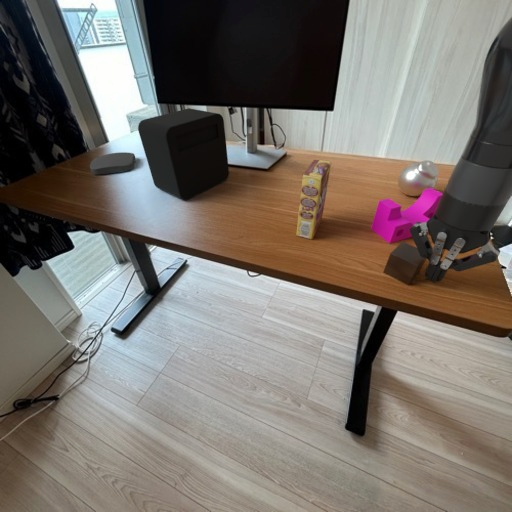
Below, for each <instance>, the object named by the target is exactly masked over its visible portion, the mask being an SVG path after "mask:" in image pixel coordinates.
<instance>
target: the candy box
mask: <svg viewBox="0 0 512 512" xmlns="http://www.w3.org/2000/svg"><path fill="white" fill-rule="evenodd" d="M331 167H332V161H329V160H321V159H313V160H312V161H311V163H310V164H309V166H308V168H306V170H305V172H304V173H302V181H301V189H300V196H299V198H300V199H299V207H298V215H297V225H296V233H295V234H296V235H295V236H296V237H299V238H304V239H307V240H313V239H314V236H315V234H316V232H317V230H318V228H319V226H320V225H321V222H322V221H323V214H324V208H325V204H326V203H325V202H326V198H327V197H326V196H327V192H328V185H329V179H330V172H331V169H332V168H331Z"/></svg>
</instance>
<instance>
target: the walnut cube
mask: <svg viewBox="0 0 512 512" xmlns="http://www.w3.org/2000/svg"><path fill="white" fill-rule="evenodd" d="M426 261H427V259H426V258H423V257H421V256H420V254H419V251H418V249H417V247H416V246H414V245H412V244H409V243H407V242H405V241H401V242H400V243H399V244H398V245H397V246H396V247H395V248H394V249H393V250H392V251H391V252H389V256H388V259H387V261H386V264H385V267H384V269H383V274H385V275H387V276H389V277H391V278H393V279H395V280H397V281H399V282H401V283H403V284H405V285H407V286H410V285H411V284H412V282H413V281H414V280H415V279H416V278H417V276H418V275H419V274H420V273H421V272H422V270H423V267H424V265H425V263H426Z"/></svg>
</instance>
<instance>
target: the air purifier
mask: <svg viewBox="0 0 512 512" xmlns="http://www.w3.org/2000/svg"><path fill="white" fill-rule="evenodd" d="M137 125H138V126H137V129H138V135H139V138H140V141H141V144H142V148H143V152H144V154H145V159H146V161H147V165H148V168H149V172H150V174H151V178H152V181H153V184H154V186H155V188H157V189H158V190H161V191H163V192H165V193H167V194H170V195H172V196H174V197H176V198H179V199H180V200H183V201H188V200H190V199H192V198H195V197H196V196H198V195H200V194H203V193H204V192H207V191H208V190H210V189H212V188H214V187H217V186H218V185H220V184H222V183H224V182H226V181H227V180H228V178H229V177H230V176H229V175H230V168H229V158H228V149H227V139H226V129H225V128H226V127H225V120H224V117H223V115H222V114H220V113H217V112H212V111H207V110H200V109H195V108H185V109H181V110H176V111H172V112H168V113H165V114H161V115H157V116H153V117H148V118H145V119H142V120H141V121H139V123H138V124H137Z"/></svg>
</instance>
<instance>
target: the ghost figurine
mask: <svg viewBox="0 0 512 512" xmlns="http://www.w3.org/2000/svg"><path fill="white" fill-rule="evenodd" d="M439 173H440V172H439V169H438V166H437V165H436V163H434V161H433V160H427V159H426V160H422V161H419V162H415V163H412V164H409V165H407V166H406V167H404V168H403V169H402V171H400V173H399V175H398V178H397V184H398V185H397V186H398V188H399V190H400V192H402V193H403V194H405V195H406V196H410V197H420V196H421V195H422V193H423V191H424V190H425V189H429V188H432V189H435V187H436V186H437V185H436V184H437V182H438V176H439Z"/></svg>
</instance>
